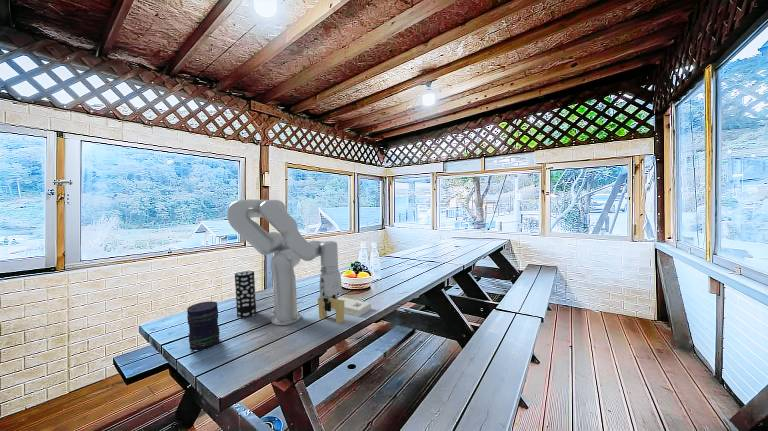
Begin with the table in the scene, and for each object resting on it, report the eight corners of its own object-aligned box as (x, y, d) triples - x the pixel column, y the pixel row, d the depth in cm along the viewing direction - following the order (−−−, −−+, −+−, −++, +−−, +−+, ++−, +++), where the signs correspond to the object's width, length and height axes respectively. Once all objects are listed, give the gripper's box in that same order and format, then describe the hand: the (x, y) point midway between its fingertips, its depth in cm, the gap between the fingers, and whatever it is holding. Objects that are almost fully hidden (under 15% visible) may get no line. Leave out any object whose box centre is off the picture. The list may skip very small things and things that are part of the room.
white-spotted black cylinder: (232, 316, 133) (230, 274, 132) (247, 310, 141) (245, 270, 140) (246, 319, 130) (243, 276, 129) (260, 312, 138) (258, 271, 137)
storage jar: (214, 335, 115) (212, 299, 114) (224, 342, 109) (222, 304, 108) (185, 345, 107) (182, 307, 106) (194, 354, 101) (191, 313, 100)
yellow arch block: (318, 317, 130) (317, 298, 129) (323, 315, 133) (322, 296, 132) (340, 323, 123) (339, 303, 122) (344, 320, 126) (344, 300, 125)
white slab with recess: (327, 309, 140) (327, 303, 139) (340, 302, 148) (340, 296, 148) (359, 316, 130) (358, 310, 130) (371, 309, 138) (370, 303, 138)
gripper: (322, 274, 117) (324, 317, 119) (347, 265, 131) (349, 304, 133) (309, 272, 121) (311, 314, 122) (335, 264, 135) (336, 301, 137)
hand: (331, 308), depth 128 cm, fingers closed on yellow arch block, 3 cm apart
